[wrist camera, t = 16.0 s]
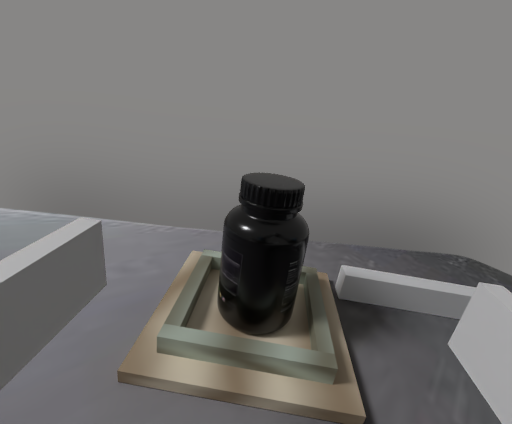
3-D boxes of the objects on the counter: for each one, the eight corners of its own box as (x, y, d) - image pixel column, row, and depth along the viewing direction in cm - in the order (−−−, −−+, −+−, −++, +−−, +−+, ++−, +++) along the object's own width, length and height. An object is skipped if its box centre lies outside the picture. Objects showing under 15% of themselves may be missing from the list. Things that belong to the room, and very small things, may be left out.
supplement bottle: (269, 280, 29) (290, 169, 25) (306, 327, 24) (341, 195, 19) (205, 291, 26) (217, 166, 22) (230, 347, 21) (252, 196, 16)
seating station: (325, 280, 33) (330, 262, 32) (361, 427, 18) (373, 400, 17) (192, 257, 33) (193, 239, 32) (118, 381, 18) (116, 353, 17)
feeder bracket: (512, 317, 31) (525, 295, 30) (681, 470, 18) (715, 442, 17) (334, 287, 32) (341, 264, 30) (372, 413, 18) (386, 382, 17)
